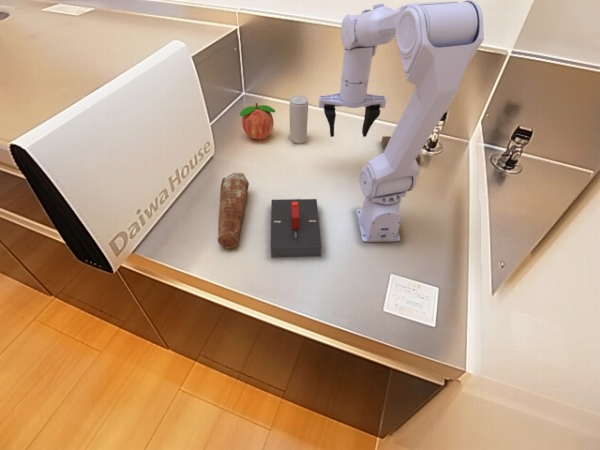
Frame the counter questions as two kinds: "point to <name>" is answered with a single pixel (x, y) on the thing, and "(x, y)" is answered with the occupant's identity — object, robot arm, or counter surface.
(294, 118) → the beverage can
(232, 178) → the bread
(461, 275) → the counter surface
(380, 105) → the robot arm
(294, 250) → the panel
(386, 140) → the button block
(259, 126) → the fruit
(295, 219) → the toaster knob
